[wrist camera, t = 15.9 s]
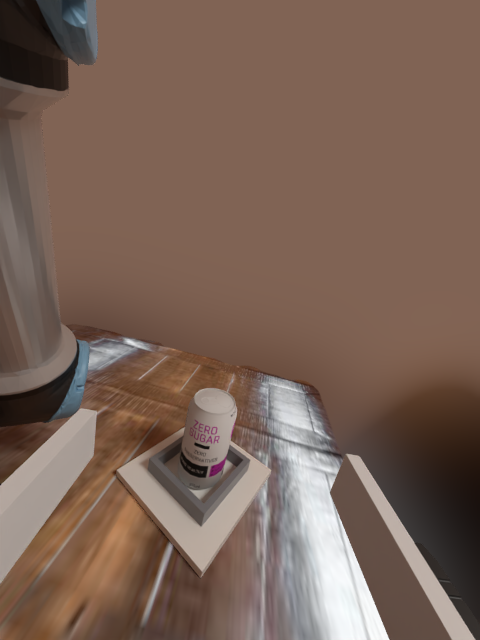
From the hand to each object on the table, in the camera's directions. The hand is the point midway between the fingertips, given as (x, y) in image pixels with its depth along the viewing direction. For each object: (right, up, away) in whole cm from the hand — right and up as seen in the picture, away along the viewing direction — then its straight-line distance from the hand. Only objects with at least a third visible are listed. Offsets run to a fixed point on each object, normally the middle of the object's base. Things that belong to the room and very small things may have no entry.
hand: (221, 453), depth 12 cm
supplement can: (-6, -21, +30) cm, 37 cm away
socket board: (-7, -22, +30) cm, 38 cm away
